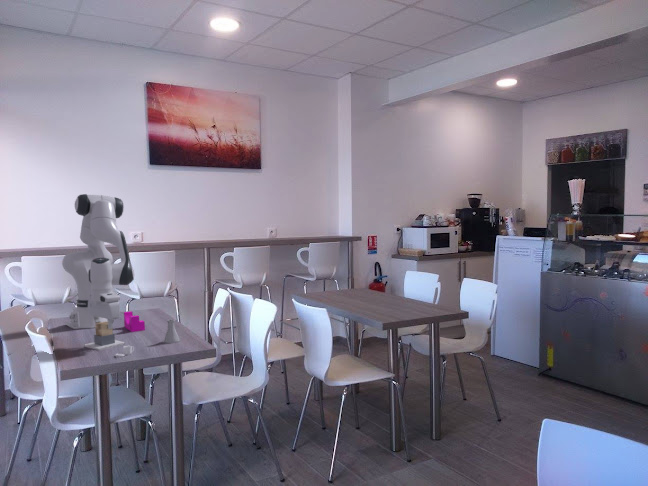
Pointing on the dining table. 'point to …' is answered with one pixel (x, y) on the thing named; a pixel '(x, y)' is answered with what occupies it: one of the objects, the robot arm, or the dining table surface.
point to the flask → (171, 333)
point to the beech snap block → (103, 329)
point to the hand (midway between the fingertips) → (103, 327)
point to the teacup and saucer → (125, 351)
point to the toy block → (133, 322)
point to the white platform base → (104, 342)
